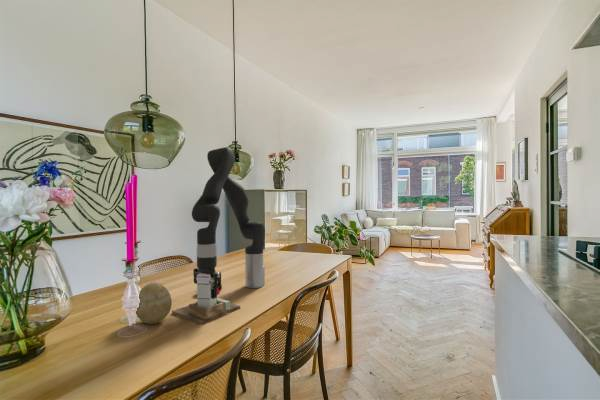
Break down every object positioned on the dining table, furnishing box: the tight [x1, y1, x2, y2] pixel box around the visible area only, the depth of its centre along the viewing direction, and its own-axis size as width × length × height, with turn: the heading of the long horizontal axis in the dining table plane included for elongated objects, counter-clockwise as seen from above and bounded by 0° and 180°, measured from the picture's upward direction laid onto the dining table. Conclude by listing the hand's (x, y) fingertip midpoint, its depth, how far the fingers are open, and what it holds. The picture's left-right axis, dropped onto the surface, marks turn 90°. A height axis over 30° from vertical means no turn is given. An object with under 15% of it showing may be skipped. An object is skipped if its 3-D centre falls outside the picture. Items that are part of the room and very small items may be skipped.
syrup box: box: [196, 273, 218, 308], centre depth 131 cm, size 6×6×14 cm
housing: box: [171, 300, 241, 325], centre depth 136 cm, size 20×18×5 cm
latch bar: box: [217, 297, 231, 310], centre depth 136 cm, size 2×10×3 cm, turn 55°
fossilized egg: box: [135, 281, 173, 325], centre depth 124 cm, size 13×13×15 cm
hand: (207, 296), depth 131 cm, fingers closed on syrup box, 7 cm apart
